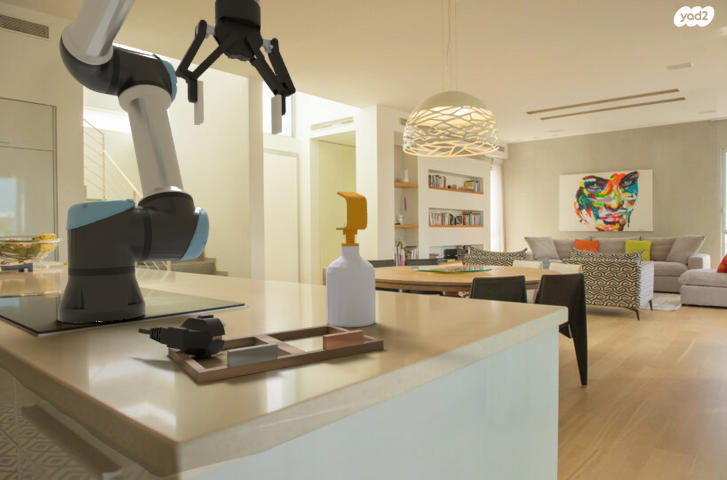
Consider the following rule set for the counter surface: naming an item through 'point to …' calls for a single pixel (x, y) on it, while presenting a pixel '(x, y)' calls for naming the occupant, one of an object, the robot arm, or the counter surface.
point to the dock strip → (278, 351)
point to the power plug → (192, 335)
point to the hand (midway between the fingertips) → (239, 128)
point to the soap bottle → (351, 274)
